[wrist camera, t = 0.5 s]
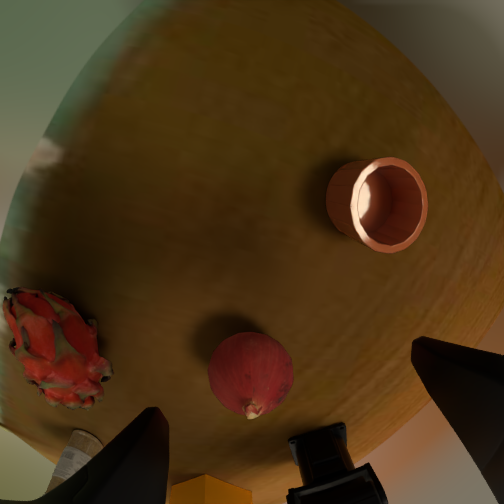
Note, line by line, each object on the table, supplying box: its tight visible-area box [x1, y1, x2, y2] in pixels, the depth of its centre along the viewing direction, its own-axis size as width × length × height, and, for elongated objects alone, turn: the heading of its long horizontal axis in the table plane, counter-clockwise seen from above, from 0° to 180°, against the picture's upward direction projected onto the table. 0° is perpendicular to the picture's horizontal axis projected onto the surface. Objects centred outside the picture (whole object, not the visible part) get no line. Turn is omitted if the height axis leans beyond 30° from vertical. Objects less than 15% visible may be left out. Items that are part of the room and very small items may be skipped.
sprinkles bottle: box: [44, 430, 103, 495], centre depth 18 cm, size 5×5×14 cm
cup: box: [326, 157, 428, 254], centre depth 17 cm, size 6×6×4 cm
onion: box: [208, 332, 293, 419], centre depth 18 cm, size 6×6×8 cm
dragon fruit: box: [3, 287, 114, 410], centre depth 17 cm, size 8×8×12 cm
